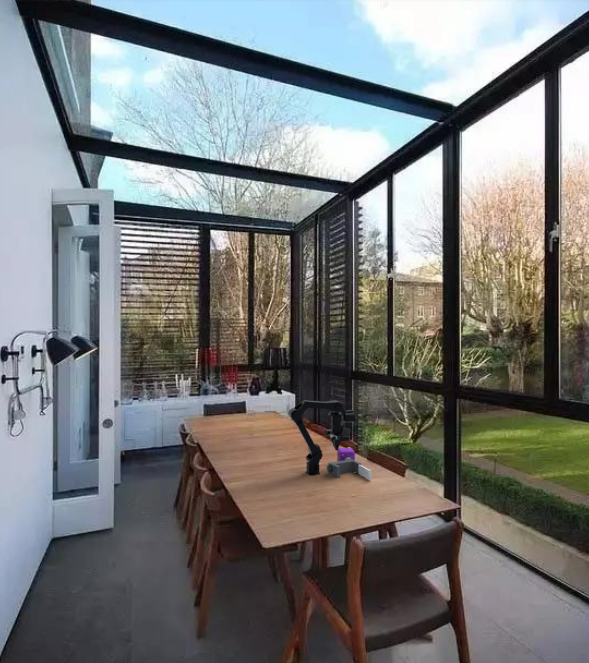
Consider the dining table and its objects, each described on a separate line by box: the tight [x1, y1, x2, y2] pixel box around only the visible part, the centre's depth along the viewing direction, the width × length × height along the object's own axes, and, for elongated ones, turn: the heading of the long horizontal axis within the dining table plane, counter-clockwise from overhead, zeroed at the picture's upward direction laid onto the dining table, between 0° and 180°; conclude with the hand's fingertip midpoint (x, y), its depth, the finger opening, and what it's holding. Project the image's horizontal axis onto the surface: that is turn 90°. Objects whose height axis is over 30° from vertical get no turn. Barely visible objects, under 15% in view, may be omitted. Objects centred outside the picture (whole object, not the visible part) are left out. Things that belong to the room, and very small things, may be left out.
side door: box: [357, 464, 372, 481], centre depth 233 cm, size 11×1×5 cm, turn 22°
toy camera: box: [336, 446, 356, 461], centre depth 254 cm, size 11×14×10 cm
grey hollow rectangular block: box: [326, 459, 362, 479], centre depth 239 cm, size 17×9×6 cm, turn 117°
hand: (336, 450), depth 244 cm, fingers closed
